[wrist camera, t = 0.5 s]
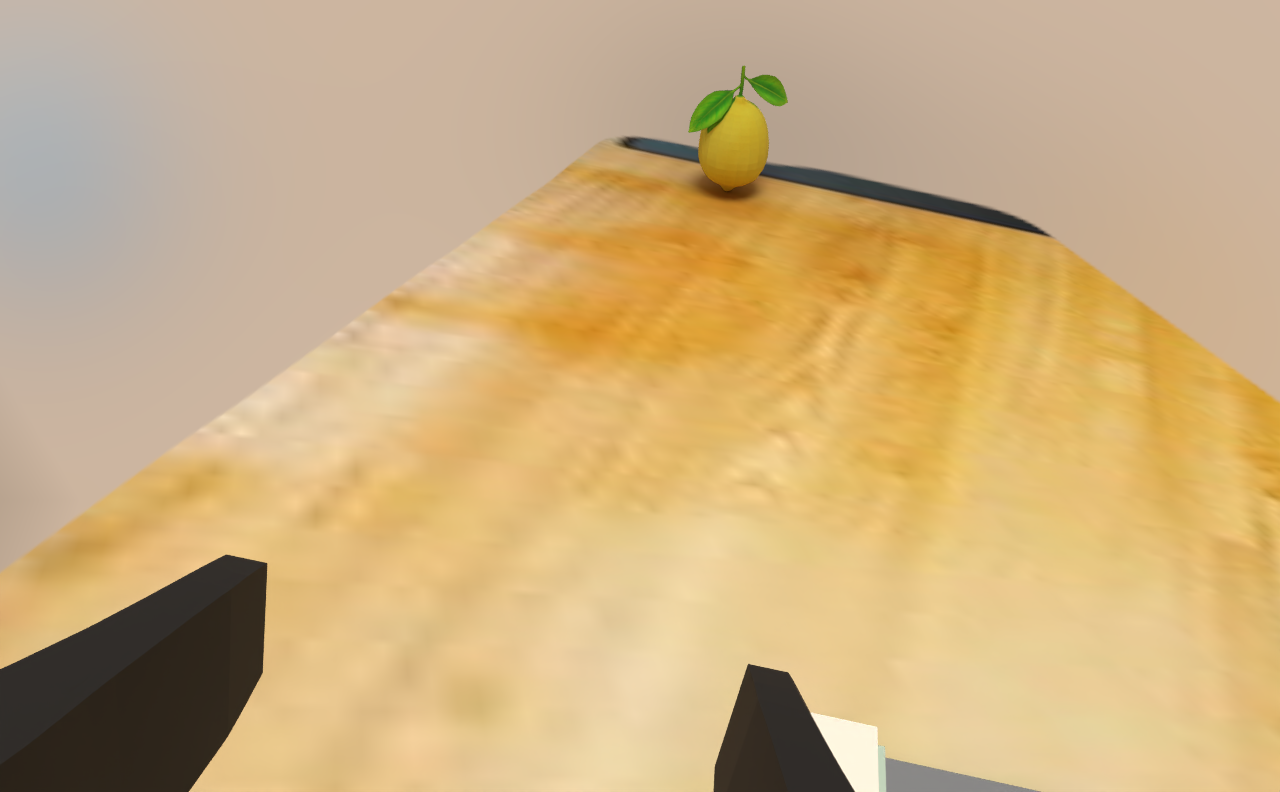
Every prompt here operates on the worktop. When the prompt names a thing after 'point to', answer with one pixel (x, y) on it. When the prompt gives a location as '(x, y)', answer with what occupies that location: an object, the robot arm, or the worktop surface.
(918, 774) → the mat
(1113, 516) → the worktop surface
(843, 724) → the glazed tile
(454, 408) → the worktop surface
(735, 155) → the lemon
